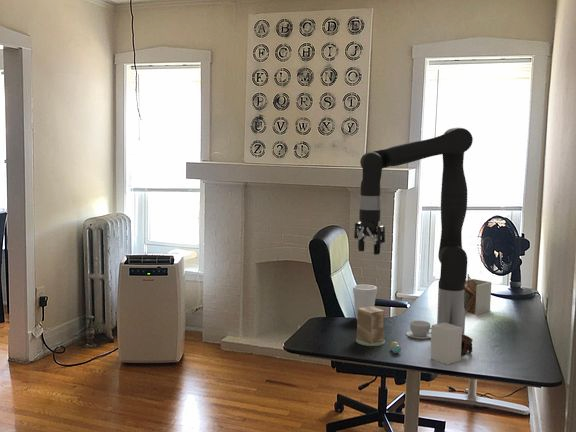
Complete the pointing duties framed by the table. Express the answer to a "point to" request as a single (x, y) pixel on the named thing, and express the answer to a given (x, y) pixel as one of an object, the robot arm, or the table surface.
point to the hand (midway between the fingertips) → (368, 252)
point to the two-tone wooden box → (477, 295)
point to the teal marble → (396, 349)
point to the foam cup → (364, 296)
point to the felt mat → (369, 344)
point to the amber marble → (394, 344)
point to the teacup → (419, 330)
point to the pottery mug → (466, 345)
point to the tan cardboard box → (370, 324)
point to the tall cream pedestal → (446, 343)
